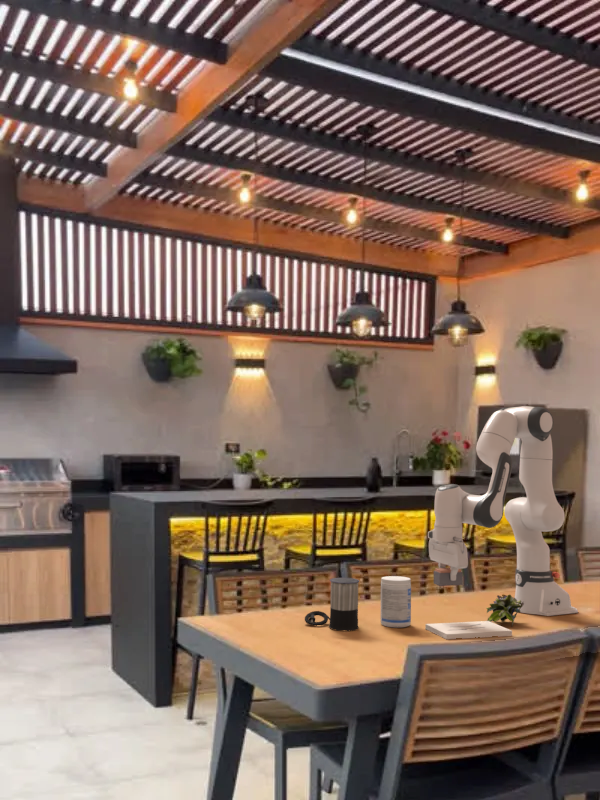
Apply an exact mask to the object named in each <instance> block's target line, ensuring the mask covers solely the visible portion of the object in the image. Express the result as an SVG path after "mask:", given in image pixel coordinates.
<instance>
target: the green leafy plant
mask: <svg viewBox="0 0 600 800" xmlns="http://www.w3.org/2000/svg"><path fill="white" fill-rule="evenodd" d="M496 597H497V598H496V599H495V601H493V603H489V606H490V607H486V614H488V613H489V612H492V613H490V615H489V616H488V617H487V620H486V621H490V622H493V623H496V622H497V621H498V622H499V621H501V622H505V621H506V620H509V621H510V622H511V627H513V625H514V622H515V619H516V618H517V614H518V613H519V614H520V613H521V612H520V609H521V607H523V605H524V603H523V602H522V603H521V600H519V601H517V599H516V598H515V597H514V596H512V595H511V594H510V593H509V594H508V595H507V594H504V593H503V594H501V595H497V596H496ZM517 603H518V604H517ZM519 604H521V605H519ZM518 608H519V609H518ZM514 613H515V614H514Z"/></svg>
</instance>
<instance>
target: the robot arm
mask: <svg viewBox="0 0 600 800" xmlns="http://www.w3.org/2000/svg"><path fill="white" fill-rule="evenodd" d="M553 427H554V418H553V414H552V413H551V411H550V410H549V409H548V408H545V407H542V406H530V405H529V406H526V405H523V406H521V405H520V406H515V407H502V408H500V409H498V410H496V411H494V412H493V413H492V414H491V416H489V418H488V420H487V421H486V422H485V424H484V427H483V429H482V431H481V433H480V435H479V438H478V439H477V442H476V448H475V451H476V455H477V457H478V458H479V460H480V461H482V463H484V464H485V465H486V466H488V467H489V468H491V469H492V471H491V472H492V474H491V476H490V482H489V485H488V488H487V492H485V493H484V494H482V495H479V494H478V495H477V494H473V493H469V492H467V491H465V490H463V489H462V488H461V486H460V485H458V484H456V483H455V484H454V483H451V484H450V483H449V484H443V485H440V486H438V487H437V489H436V491H435V495H434V504H433V505H434V507H433V508H434V510H433V511H434V516H435V521H434V526H433V529H431V530H430V531H428V532H427V538H428V539H429V541H428V554H429V555H428V556H429V559H430V561H432V562H436V563H438V568H447V567H446V566H449V568H450V569H451V573H450V574H449V579H450V580H452V581H455V580H456V575H457V572H458V569H461V570H462V569H467V568H468V566H469V559H468V558H469V557H468V548H467V545H466V543H465V542H464V540H463V524H468V525H473V526H474V525H476V526H479V527H483V528H486V529H487V528H488V529H493V528H494V527H496V526H497V525H498V524H499V523H500V522H501V521H502V519H503V516H504V517H505V519H506V521H507V522H508V523H509V525H510V527H511V529H512V533H513V535H514V536H513V537H514V539H515V544H516V568H515V591H514V592H515V593H514V598H516V599H517V601H519V600H521V603H522V602H523V603H524V605H523V607H521V609H520V613H523V614H528V615H529V614H530V615H537V616H544V617H546V616H547V617H550V616H551V617H552V616H558V615H559V616H560V615H568V614H578V612H579V611H578V608H577V607H574V606H572V602H571V596H570V594H569V592H567V591H566V590H565V589H564V588H563V587H562V586H560V585H559V584H558V583H557V582H555V579H554V578H556V579H559V578H560V576H561V574H560V573H559V572H558V571H553V570H551V569H550V563H551V561H550V560H551V558H550V557H551V556H550V554H551V551H550V547H549V545H548V544H547V542H546V541H545V539H544V536H543V533H542V532H547V533H548V532H555V531H557V530H559V529H560V528H561V527H562V526H563V524H564V521H565V517H566V516H565V511H564V509H563V508H562V506H561V505H560V503H559V502H558V500H557V497H556V494H555V490H554V486H553V452H554V451H553V442H552V441H553V440H552V436H551V433H552V431H553ZM515 439H520V440H521V445H520V452H519V453H520V455H519V472H518V479H519V483H521V485H522V486H523V489H524V490H525V494H526V496H522V497H521V496H519V497H516V498H513V499H510V500H509V501H508V502H507V503H506V504H505V499H506V495H507V490H508V487H509V482H510V478H511V473H512V469H513V459H512V457H511V456H510V455H511V450H512V447H513V444H514V441H515ZM504 505H505V506H504ZM504 507H505V508H504ZM517 604H518V603H517ZM519 605H521V604H519ZM518 609H519V608H518Z"/></svg>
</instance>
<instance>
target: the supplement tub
mask: <svg viewBox="0 0 600 800" xmlns="http://www.w3.org/2000/svg"><path fill="white" fill-rule="evenodd" d="M380 580H381V581H380V624H381V625H382V626H384V627H388V628H397V629H399V628H401V629H402V628H407V627H409V626H410V625H411V624H412V621H411V620H412V581H411V580H412V579H411V578H410V577H406V576H400V575H399V576H397V575H391V576H389V575H388V576H387V575H386V576H381V579H380Z"/></svg>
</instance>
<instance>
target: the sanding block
mask: <svg viewBox="0 0 600 800" xmlns="http://www.w3.org/2000/svg"><path fill="white" fill-rule="evenodd" d="M450 573H451V569H450V567H446V568H439V567H438V568H437V567H435V568H434V570H433V584H434V585H436V586H440V587H442V586H443V587H444V586H462V585H464V584H463V581H464V579H463V577H464V575H463V574H464V573H463V571H462V569H458V572H457V575H456V580H455V581H452V580H450V579H449V574H450Z"/></svg>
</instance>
